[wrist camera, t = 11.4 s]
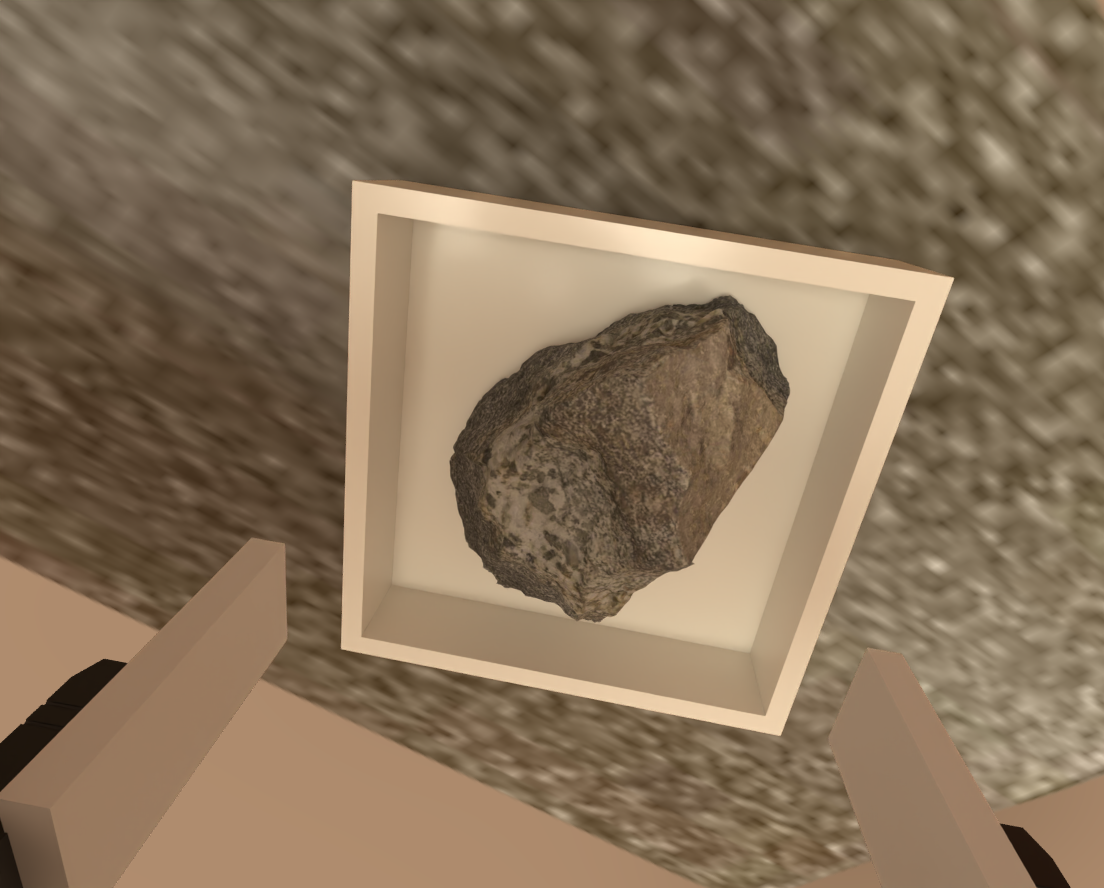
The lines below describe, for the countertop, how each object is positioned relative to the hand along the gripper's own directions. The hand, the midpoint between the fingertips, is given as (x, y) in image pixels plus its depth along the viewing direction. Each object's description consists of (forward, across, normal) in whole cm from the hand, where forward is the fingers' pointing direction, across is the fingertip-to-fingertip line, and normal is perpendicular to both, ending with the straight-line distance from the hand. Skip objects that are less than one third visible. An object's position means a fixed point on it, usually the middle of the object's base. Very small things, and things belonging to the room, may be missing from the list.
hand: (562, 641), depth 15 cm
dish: (+12, +1, 0) cm, 13 cm away
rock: (+12, 0, 0) cm, 12 cm away
